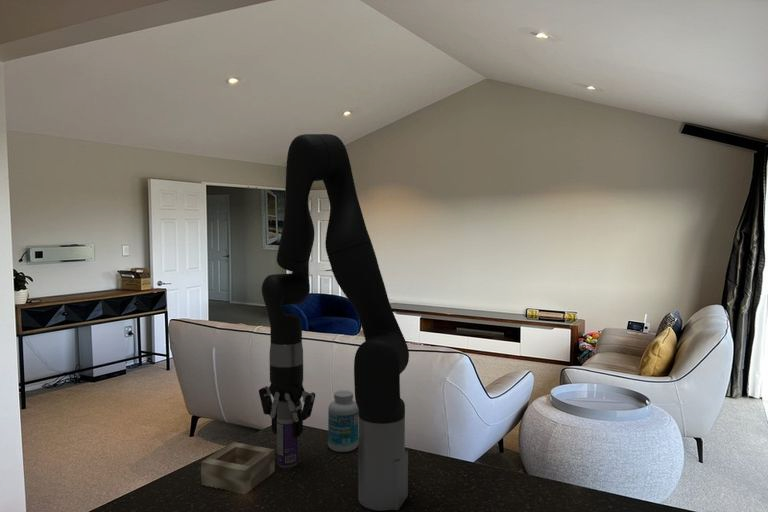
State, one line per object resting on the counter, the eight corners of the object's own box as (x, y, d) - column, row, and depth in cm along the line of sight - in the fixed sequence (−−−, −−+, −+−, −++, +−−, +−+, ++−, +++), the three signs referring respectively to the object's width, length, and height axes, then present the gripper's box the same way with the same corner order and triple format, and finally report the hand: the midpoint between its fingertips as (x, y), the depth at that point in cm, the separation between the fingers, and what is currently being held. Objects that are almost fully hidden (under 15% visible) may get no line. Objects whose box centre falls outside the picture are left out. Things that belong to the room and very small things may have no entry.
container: (299, 459, 127) (299, 396, 126) (294, 468, 123) (294, 403, 122) (280, 458, 128) (279, 395, 127) (274, 467, 123) (273, 402, 122)
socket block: (274, 471, 121) (274, 449, 121) (245, 494, 111) (244, 470, 111) (233, 463, 125) (233, 441, 125) (201, 484, 115) (200, 461, 115)
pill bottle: (323, 451, 132) (323, 396, 131) (334, 439, 139) (334, 387, 138) (352, 455, 130) (352, 399, 129) (362, 442, 137) (362, 390, 136)
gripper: (322, 360, 124) (322, 433, 126) (268, 354, 130) (269, 424, 131) (306, 368, 118) (306, 445, 119) (250, 362, 123) (251, 436, 124)
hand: (287, 434), depth 125 cm, fingers closed on container, 4 cm apart
